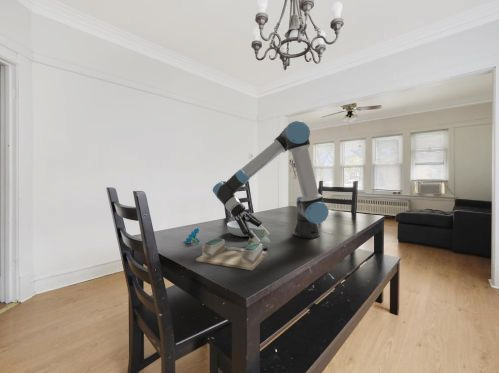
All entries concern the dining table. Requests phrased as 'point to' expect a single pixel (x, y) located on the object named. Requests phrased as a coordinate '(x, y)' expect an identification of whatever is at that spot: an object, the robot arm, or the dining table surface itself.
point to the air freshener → (260, 237)
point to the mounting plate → (232, 254)
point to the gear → (193, 236)
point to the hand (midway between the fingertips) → (263, 239)
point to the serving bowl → (238, 228)
